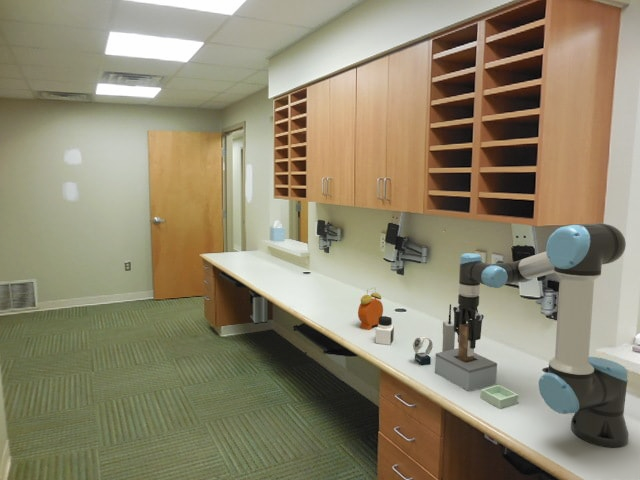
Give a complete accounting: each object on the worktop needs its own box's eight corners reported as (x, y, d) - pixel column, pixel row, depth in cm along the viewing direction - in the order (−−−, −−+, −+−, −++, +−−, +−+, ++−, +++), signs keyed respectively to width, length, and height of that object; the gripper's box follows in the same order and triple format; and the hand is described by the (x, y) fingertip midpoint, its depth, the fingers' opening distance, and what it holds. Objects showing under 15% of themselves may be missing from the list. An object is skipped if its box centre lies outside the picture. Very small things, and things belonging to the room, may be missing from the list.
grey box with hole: (495, 383, 180) (497, 363, 178) (468, 391, 173) (469, 370, 172) (461, 365, 195) (462, 347, 194) (434, 372, 189) (435, 353, 188)
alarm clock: (373, 322, 250) (374, 285, 247) (383, 324, 246) (383, 287, 243) (357, 328, 241) (357, 289, 238) (366, 331, 236) (367, 291, 233)
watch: (410, 361, 200) (411, 336, 198) (427, 358, 202) (428, 334, 201) (416, 366, 195) (417, 340, 193) (434, 364, 197) (435, 338, 195)
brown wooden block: (473, 365, 183) (475, 325, 180) (465, 367, 181) (467, 327, 178) (465, 362, 186) (467, 322, 184) (457, 364, 184) (459, 324, 182)
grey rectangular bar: (449, 359, 202) (452, 302, 198) (453, 363, 197) (456, 305, 193) (441, 359, 202) (443, 302, 198) (444, 364, 197) (447, 305, 193)
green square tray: (517, 403, 165) (518, 394, 164) (500, 408, 161) (500, 400, 160) (498, 392, 172) (498, 384, 172) (480, 397, 168) (481, 389, 168)
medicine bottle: (390, 345, 218) (391, 320, 216) (375, 343, 220) (375, 318, 218) (393, 340, 224) (394, 315, 223) (378, 338, 227) (379, 313, 225)
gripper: (493, 298, 173) (490, 359, 177) (460, 288, 188) (457, 344, 192) (478, 301, 170) (475, 363, 173) (445, 290, 185) (443, 347, 188)
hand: (465, 353), depth 183 cm, fingers closed on brown wooden block, 4 cm apart
